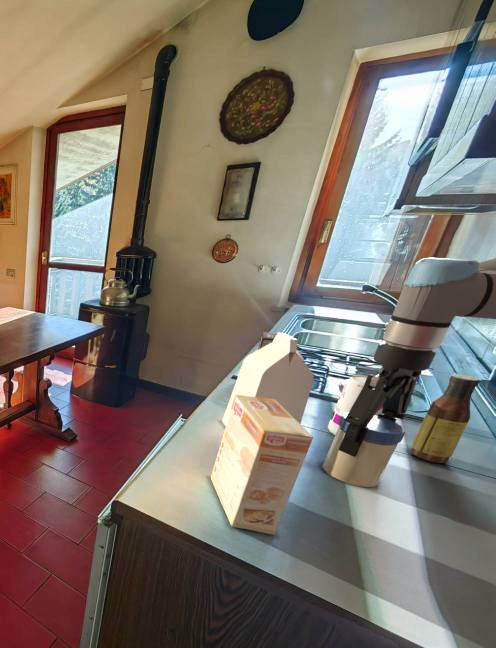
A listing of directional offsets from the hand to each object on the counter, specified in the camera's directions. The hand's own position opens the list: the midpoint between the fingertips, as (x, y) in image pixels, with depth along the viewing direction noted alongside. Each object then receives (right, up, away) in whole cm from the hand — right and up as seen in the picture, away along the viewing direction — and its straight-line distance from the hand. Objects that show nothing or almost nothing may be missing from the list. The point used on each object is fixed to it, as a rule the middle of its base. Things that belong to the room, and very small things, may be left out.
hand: (361, 448), depth 81 cm
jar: (0, -6, +3) cm, 7 cm away
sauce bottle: (+24, -4, +9) cm, 27 cm away
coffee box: (+15, +14, +52) cm, 56 cm away
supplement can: (+14, 0, +19) cm, 24 cm away
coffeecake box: (-30, -10, -7) cm, 32 cm away
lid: (0, +5, -2) cm, 6 cm away
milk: (-10, 0, +18) cm, 20 cm away
